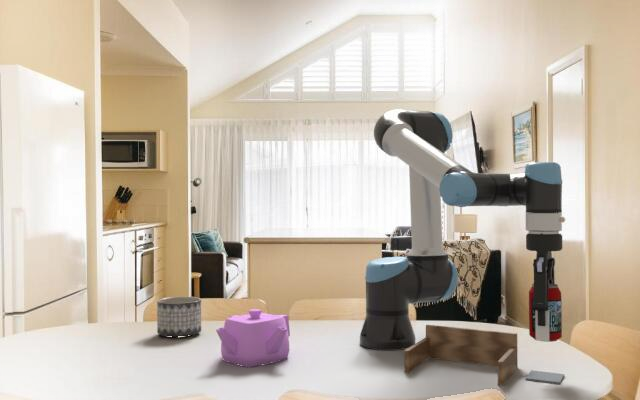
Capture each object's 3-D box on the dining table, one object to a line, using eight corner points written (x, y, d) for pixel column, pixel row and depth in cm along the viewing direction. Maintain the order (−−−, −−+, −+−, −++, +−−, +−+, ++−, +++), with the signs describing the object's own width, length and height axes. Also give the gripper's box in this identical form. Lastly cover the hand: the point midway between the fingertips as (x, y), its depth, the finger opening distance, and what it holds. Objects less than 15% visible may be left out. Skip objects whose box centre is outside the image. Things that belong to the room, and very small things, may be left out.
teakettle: (290, 350, 162) (290, 303, 162) (287, 368, 145) (287, 315, 145) (225, 351, 162) (225, 304, 162) (215, 369, 145) (215, 316, 145)
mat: (525, 379, 134) (525, 378, 134) (531, 371, 140) (531, 370, 140) (559, 384, 130) (559, 382, 130) (564, 375, 137) (564, 374, 137)
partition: (404, 372, 140) (404, 337, 140) (427, 356, 154) (426, 324, 154) (502, 385, 130) (502, 347, 130) (517, 367, 144) (517, 333, 144)
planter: (210, 333, 183) (210, 298, 183) (179, 341, 173) (179, 304, 173) (179, 329, 190) (179, 295, 190) (148, 336, 179) (147, 301, 179)
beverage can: (537, 343, 131) (536, 287, 131) (524, 336, 138) (523, 283, 138) (567, 342, 132) (567, 286, 132) (553, 335, 139) (552, 282, 139)
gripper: (555, 235, 125) (557, 348, 125) (567, 230, 142) (568, 330, 142) (517, 234, 128) (518, 344, 128) (533, 230, 146) (534, 327, 145)
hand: (545, 337), depth 135 cm, fingers closed on beverage can, 7 cm apart
